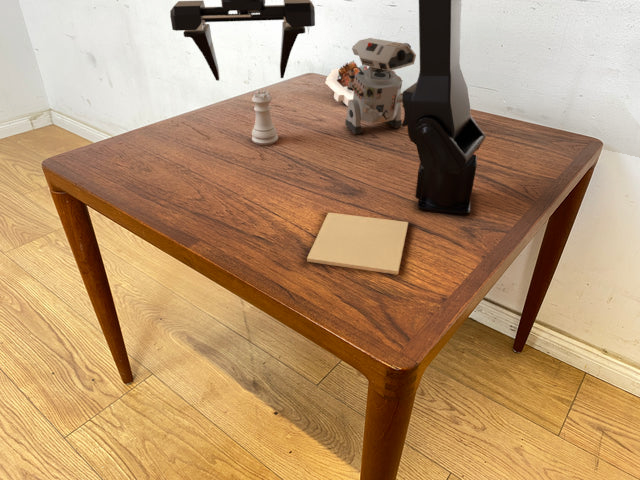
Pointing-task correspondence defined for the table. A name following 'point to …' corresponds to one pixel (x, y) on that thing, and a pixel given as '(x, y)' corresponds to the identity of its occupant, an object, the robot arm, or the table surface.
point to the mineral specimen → (342, 82)
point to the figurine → (377, 83)
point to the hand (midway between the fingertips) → (250, 78)
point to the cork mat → (360, 243)
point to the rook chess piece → (263, 120)
